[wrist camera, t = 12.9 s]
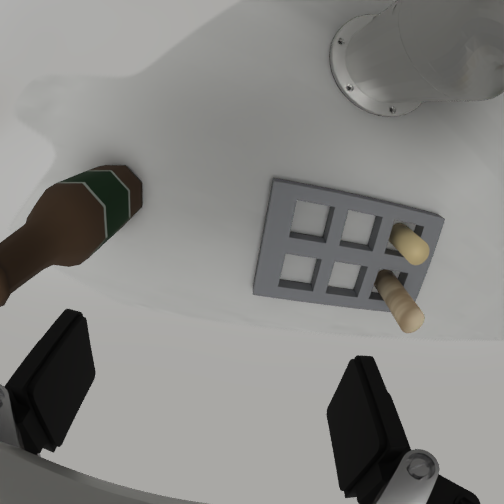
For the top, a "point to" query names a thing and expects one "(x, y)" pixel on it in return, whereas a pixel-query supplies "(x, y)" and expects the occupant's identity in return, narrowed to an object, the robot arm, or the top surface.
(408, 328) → the beech pin
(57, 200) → the beer bottle
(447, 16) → the robot arm
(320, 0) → the top surface
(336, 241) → the peg board
